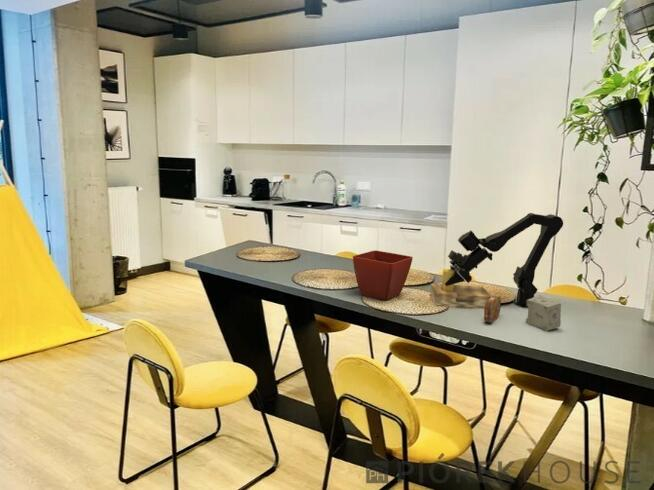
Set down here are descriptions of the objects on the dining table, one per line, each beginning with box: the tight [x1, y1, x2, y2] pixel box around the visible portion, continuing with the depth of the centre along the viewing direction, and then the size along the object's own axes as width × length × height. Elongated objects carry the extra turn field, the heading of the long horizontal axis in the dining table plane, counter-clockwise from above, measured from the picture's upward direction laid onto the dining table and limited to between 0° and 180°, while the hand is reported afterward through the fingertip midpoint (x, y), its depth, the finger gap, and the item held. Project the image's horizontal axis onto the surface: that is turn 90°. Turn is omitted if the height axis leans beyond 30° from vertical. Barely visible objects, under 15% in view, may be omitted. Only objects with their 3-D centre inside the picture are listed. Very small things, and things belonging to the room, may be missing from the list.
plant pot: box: [352, 250, 413, 301], centre depth 220 cm, size 19×19×17 cm
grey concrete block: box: [525, 295, 562, 332], centre depth 191 cm, size 10×8×10 cm
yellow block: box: [441, 268, 455, 291], centre depth 216 cm, size 4×4×12 cm
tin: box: [483, 295, 502, 324], centre depth 196 cm, size 15×3×8 cm, turn 148°
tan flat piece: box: [429, 283, 493, 309], centre depth 216 cm, size 22×16×5 cm
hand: (444, 283), depth 216 cm, fingers closed on yellow block, 4 cm apart
